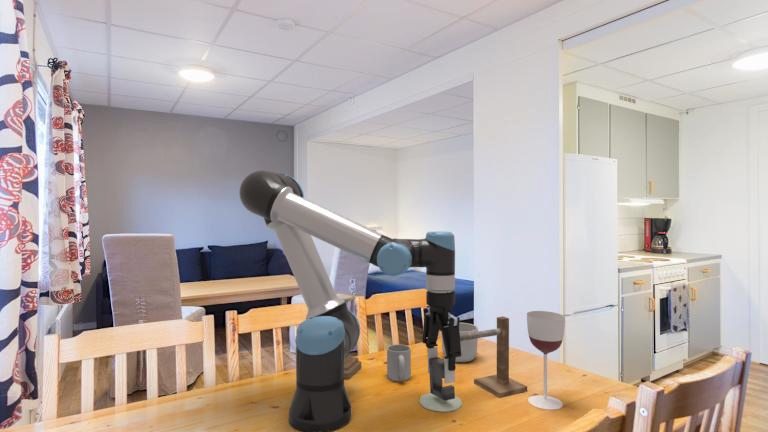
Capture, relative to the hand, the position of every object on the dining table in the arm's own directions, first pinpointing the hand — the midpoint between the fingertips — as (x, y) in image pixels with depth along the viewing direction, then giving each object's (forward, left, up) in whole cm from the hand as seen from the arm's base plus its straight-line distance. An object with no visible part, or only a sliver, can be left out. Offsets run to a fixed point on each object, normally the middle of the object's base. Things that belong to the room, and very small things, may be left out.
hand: (441, 376), depth 115 cm
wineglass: (+25, -12, -7) cm, 29 cm away
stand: (+16, +1, -7) cm, 17 cm away
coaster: (0, 0, -7) cm, 7 cm away
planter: (+25, +26, -7) cm, 37 cm away
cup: (-2, +19, -7) cm, 20 cm away
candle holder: (-16, +33, -7) cm, 37 cm away
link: (0, -1, -5) cm, 5 cm away
